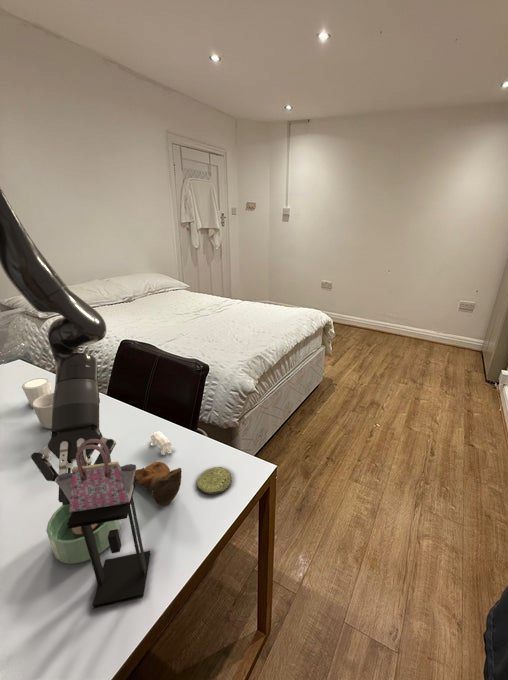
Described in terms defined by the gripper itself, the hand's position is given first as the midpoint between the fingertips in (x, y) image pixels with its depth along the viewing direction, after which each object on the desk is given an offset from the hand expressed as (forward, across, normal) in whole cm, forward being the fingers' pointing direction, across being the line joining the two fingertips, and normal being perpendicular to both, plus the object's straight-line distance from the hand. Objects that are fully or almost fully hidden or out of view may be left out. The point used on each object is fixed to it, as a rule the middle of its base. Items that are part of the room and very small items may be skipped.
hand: (74, 502), depth 57 cm
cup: (-24, -16, +40) cm, 50 cm away
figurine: (-9, +13, +25) cm, 30 cm away
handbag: (+14, +7, +2) cm, 16 cm away
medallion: (+2, +25, +14) cm, 28 cm away
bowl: (+7, 0, +10) cm, 12 cm away
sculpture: (+1, +12, +15) cm, 19 cm away
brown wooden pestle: (+6, 0, +9) cm, 11 cm away
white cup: (-33, -23, +49) cm, 64 cm away
